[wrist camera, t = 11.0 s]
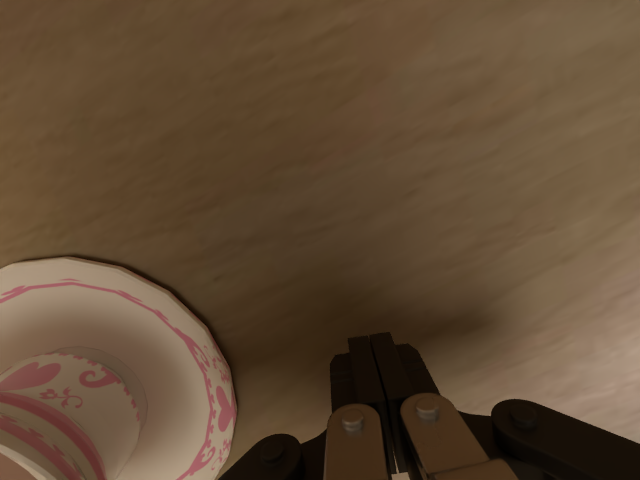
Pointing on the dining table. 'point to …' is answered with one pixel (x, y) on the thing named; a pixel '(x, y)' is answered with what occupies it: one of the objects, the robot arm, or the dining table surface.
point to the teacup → (107, 378)
